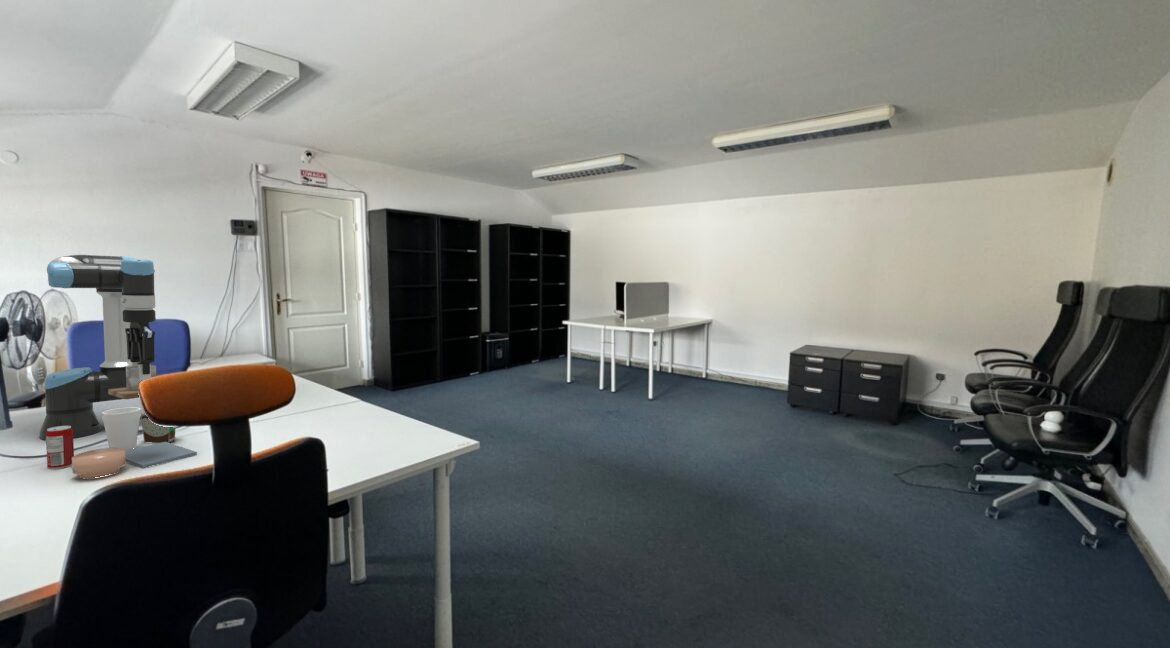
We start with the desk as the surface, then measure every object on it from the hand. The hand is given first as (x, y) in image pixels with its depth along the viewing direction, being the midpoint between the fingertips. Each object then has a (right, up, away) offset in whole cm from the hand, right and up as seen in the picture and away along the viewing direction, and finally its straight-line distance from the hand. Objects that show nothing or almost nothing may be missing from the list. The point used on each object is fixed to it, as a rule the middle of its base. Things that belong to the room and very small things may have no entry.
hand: (141, 383), depth 152 cm
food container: (-10, -23, +20) cm, 32 cm away
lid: (0, -3, 0) cm, 3 cm away
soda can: (-19, -24, -6) cm, 32 cm away
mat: (0, -24, +5) cm, 25 cm away
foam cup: (-15, -23, +10) cm, 30 cm away
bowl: (-2, -25, -11) cm, 27 cm away
